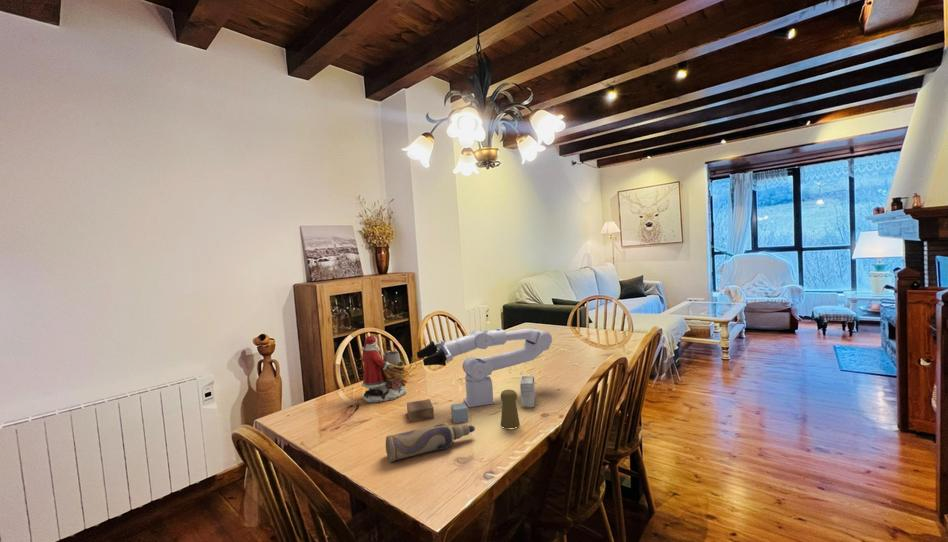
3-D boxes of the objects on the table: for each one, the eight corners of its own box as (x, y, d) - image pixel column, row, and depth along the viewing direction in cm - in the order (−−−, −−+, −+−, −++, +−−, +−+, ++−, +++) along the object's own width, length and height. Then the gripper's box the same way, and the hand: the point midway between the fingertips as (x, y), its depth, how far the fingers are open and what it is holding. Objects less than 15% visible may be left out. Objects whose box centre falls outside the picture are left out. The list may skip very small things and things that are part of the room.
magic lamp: (377, 381, 173) (375, 356, 173) (418, 378, 174) (417, 353, 174) (374, 386, 166) (372, 361, 166) (417, 383, 168) (415, 358, 167)
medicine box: (534, 408, 136) (533, 383, 135) (521, 407, 137) (520, 383, 136) (535, 399, 143) (534, 376, 143) (523, 399, 144) (521, 375, 144)
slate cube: (464, 416, 132) (464, 402, 132) (468, 421, 128) (467, 407, 128) (451, 418, 131) (451, 404, 131) (454, 423, 127) (453, 410, 127)
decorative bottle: (391, 468, 103) (389, 443, 102) (385, 455, 110) (384, 431, 109) (480, 444, 113) (479, 421, 112) (470, 433, 120) (469, 412, 119)
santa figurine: (409, 388, 162) (404, 328, 161) (404, 401, 148) (398, 336, 147) (368, 391, 162) (363, 331, 160) (359, 405, 148) (353, 339, 146)
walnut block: (430, 410, 139) (429, 399, 139) (434, 419, 132) (433, 407, 131) (407, 413, 137) (406, 402, 137) (410, 423, 129) (409, 411, 129)
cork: (521, 421, 125) (520, 388, 125) (517, 430, 120) (515, 395, 119) (503, 420, 127) (501, 386, 127) (498, 428, 122) (496, 393, 121)
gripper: (447, 331, 146) (412, 341, 141) (462, 342, 133) (424, 354, 128) (451, 348, 147) (416, 360, 142) (465, 361, 134) (428, 374, 129)
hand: (420, 358), depth 135 cm, fingers open, 7 cm apart
